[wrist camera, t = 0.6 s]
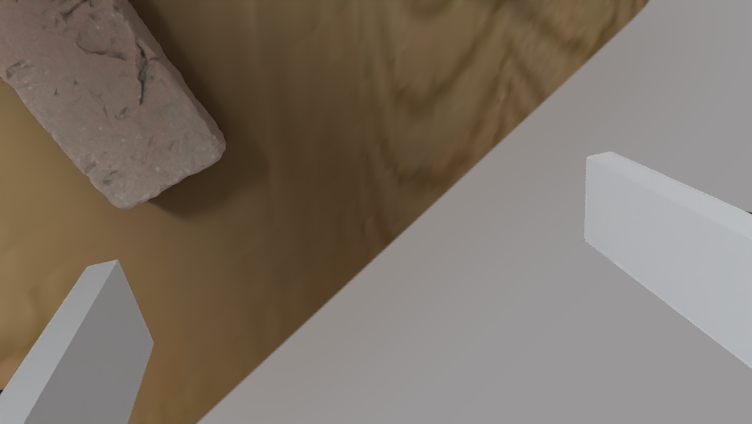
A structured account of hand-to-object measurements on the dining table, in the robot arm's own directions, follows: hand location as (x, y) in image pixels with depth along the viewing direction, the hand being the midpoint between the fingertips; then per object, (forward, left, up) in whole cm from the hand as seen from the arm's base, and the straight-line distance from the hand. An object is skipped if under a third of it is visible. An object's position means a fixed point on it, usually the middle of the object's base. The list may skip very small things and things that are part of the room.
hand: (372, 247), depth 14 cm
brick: (-10, -8, -25) cm, 28 cm away
